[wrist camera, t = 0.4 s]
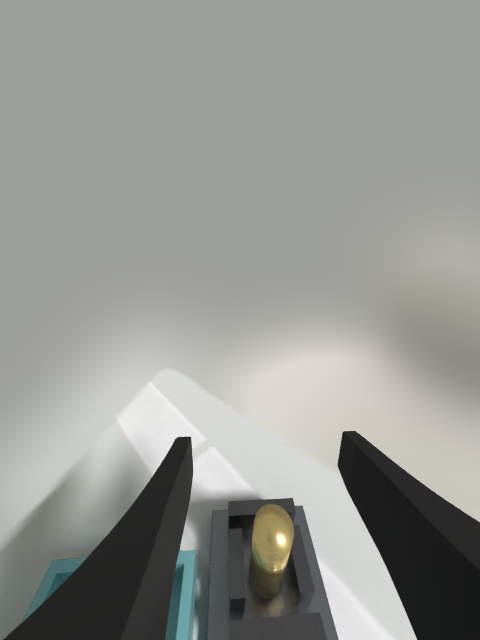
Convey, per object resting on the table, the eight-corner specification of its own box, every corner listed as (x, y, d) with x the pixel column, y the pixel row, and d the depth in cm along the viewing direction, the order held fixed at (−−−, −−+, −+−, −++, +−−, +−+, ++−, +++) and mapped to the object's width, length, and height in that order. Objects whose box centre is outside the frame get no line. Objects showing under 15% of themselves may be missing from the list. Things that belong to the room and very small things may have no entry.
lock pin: (286, 597, 19) (299, 552, 16) (250, 600, 19) (256, 555, 16) (278, 549, 22) (288, 502, 19) (247, 552, 22) (251, 504, 18)
